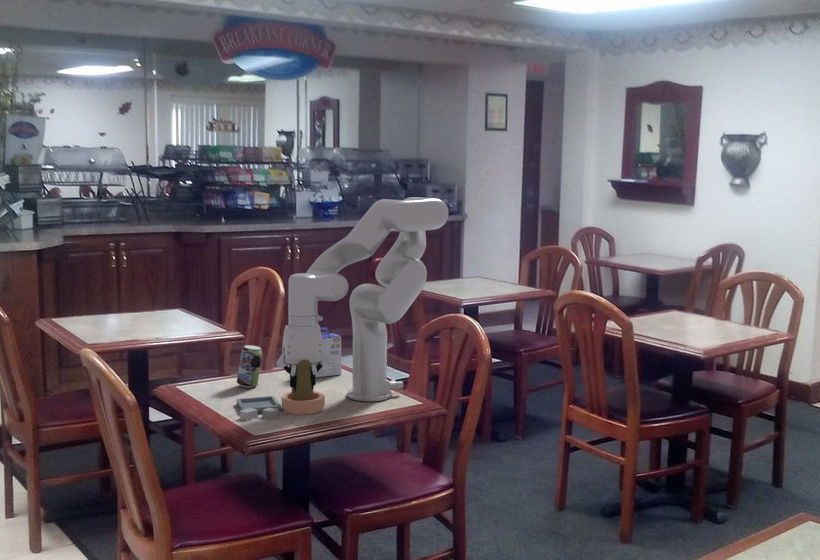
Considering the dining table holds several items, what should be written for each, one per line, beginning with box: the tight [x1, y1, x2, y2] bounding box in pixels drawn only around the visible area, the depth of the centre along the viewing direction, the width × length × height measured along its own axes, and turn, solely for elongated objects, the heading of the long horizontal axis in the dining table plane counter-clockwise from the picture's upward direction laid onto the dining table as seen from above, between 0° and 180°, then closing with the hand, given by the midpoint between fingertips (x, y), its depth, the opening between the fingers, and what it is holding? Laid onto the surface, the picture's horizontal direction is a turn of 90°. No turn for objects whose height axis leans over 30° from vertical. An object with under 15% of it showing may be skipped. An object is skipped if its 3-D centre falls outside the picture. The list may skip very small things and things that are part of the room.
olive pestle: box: [290, 360, 314, 399], centre depth 228 cm, size 6×6×11 cm
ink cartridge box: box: [316, 326, 342, 378], centre depth 265 cm, size 10×6×14 cm, turn 119°
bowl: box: [280, 390, 326, 416], centre depth 229 cm, size 11×11×4 cm
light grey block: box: [239, 408, 259, 421], centre depth 221 cm, size 4×3×2 cm
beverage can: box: [236, 344, 263, 389], centre depth 250 cm, size 6×7×12 cm
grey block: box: [261, 408, 280, 420], centre depth 223 cm, size 3×3×2 cm
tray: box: [236, 395, 282, 414], centre depth 230 cm, size 10×10×2 cm
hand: (302, 388), depth 229 cm, fingers closed on olive pestle, 3 cm apart
